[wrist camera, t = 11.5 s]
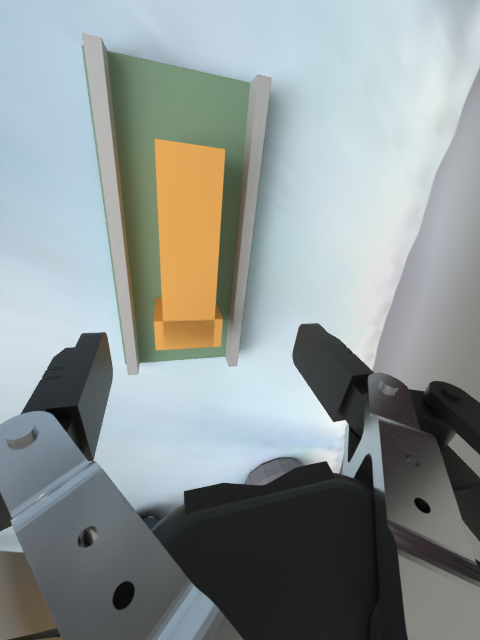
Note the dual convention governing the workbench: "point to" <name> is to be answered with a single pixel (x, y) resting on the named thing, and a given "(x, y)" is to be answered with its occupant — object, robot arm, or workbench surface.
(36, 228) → the workbench surface
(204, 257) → the chute
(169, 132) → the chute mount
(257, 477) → the soft grey pack
